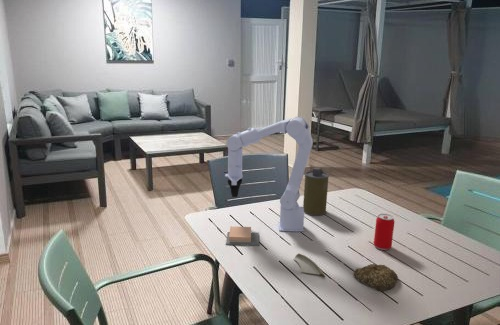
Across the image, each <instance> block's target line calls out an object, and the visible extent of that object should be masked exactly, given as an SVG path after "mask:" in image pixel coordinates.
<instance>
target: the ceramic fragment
mask: <svg viewBox="0 0 500 325" xmlns="http://www.w3.org/2000/svg"><path fill="white" fill-rule="evenodd" d="M293 261H294V262H295V263H296V264H297V265H298V266H299V268H300V273H301V274H306V275H311V276H313V275H314V276H320V277H324V278H325V273H324V272H323V271H322V269H321V268H320V266H318V264H317V263H316V262H314V261H313V260H312V259H311V258H310V257H308V256H306V255H304V254H302V253H296V255H295V256H294V257H293Z"/></svg>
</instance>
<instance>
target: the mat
mask: <svg viewBox="0 0 500 325" xmlns="http://www.w3.org/2000/svg"><path fill="white" fill-rule="evenodd" d="M229 234H230V231H227V236H226V242H225V245H226V246H260V232H252V231H251V242H229Z"/></svg>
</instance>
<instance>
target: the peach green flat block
mask: <svg viewBox="0 0 500 325" xmlns="http://www.w3.org/2000/svg"><path fill="white" fill-rule="evenodd" d="M229 232H230V234H229V242H251V232H252V226H230V228H229Z"/></svg>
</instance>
